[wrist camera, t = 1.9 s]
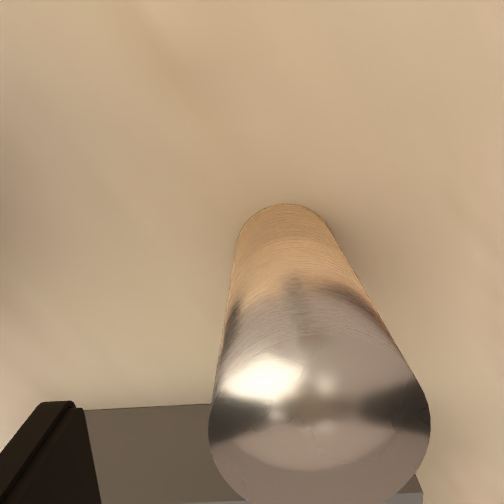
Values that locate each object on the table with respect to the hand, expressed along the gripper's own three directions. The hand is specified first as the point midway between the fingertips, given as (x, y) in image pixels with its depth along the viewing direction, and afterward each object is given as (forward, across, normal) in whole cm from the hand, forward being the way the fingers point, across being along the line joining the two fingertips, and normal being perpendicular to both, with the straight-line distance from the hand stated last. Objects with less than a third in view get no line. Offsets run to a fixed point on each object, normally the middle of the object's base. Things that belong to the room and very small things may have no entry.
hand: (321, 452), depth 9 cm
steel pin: (+10, 0, -1) cm, 11 cm away
